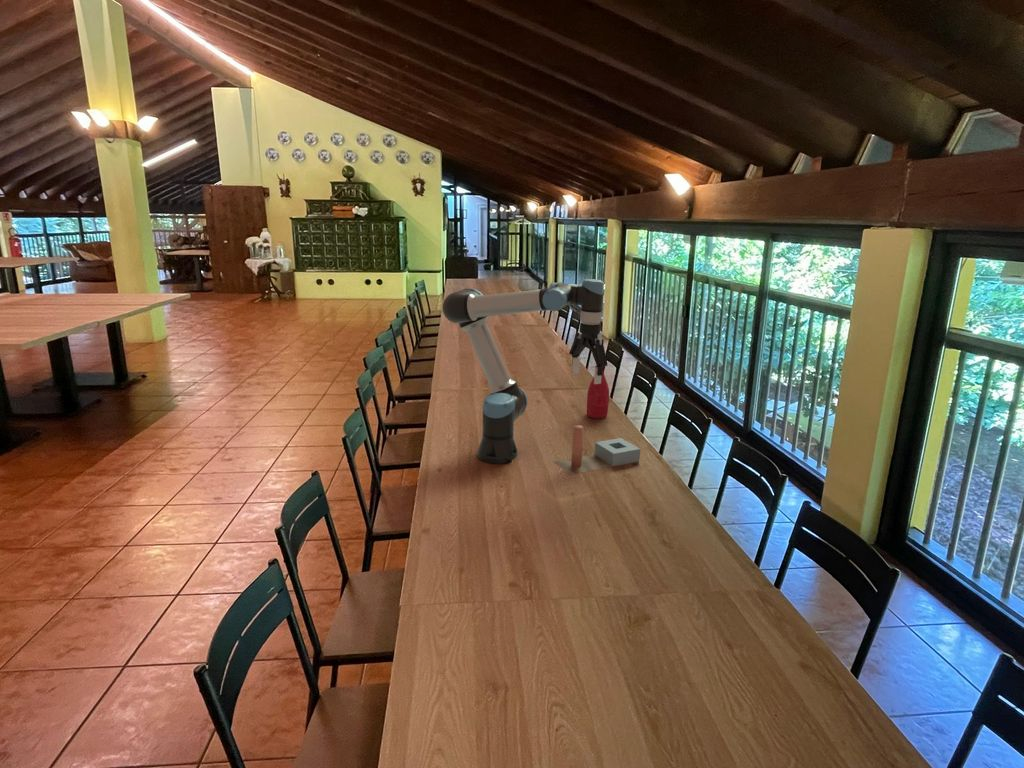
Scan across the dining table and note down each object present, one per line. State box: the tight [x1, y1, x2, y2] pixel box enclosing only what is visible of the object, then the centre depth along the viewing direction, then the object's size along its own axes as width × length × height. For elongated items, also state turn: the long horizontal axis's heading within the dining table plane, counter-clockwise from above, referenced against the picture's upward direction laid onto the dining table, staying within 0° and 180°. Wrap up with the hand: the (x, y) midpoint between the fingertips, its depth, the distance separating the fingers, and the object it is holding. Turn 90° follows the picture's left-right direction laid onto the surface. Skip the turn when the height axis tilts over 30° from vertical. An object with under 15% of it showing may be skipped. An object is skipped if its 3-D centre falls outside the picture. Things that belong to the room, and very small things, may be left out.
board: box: [554, 454, 640, 475], centre depth 230 cm, size 30×12×1 cm, turn 116°
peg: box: [571, 424, 585, 467], centre depth 223 cm, size 4×4×15 cm
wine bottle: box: [586, 362, 610, 419], centre depth 278 cm, size 10×10×30 cm
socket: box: [593, 437, 641, 467], centre depth 233 cm, size 12×12×5 cm
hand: (586, 378), depth 229 cm, fingers open, 13 cm apart
